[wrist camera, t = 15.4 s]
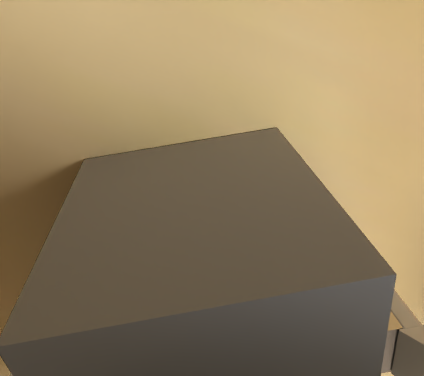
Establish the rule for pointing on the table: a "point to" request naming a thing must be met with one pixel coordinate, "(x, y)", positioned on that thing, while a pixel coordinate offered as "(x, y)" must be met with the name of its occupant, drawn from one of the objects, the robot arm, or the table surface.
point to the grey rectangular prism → (202, 271)
